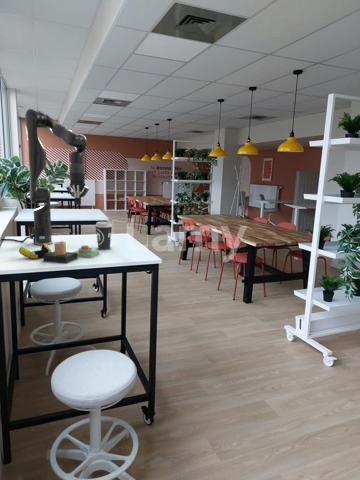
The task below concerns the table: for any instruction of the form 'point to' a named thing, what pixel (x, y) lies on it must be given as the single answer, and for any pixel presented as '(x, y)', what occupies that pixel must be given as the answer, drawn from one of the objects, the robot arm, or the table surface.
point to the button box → (86, 253)
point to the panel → (60, 257)
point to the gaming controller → (35, 252)
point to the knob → (60, 248)
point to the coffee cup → (103, 235)
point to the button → (84, 247)
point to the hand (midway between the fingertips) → (78, 204)
